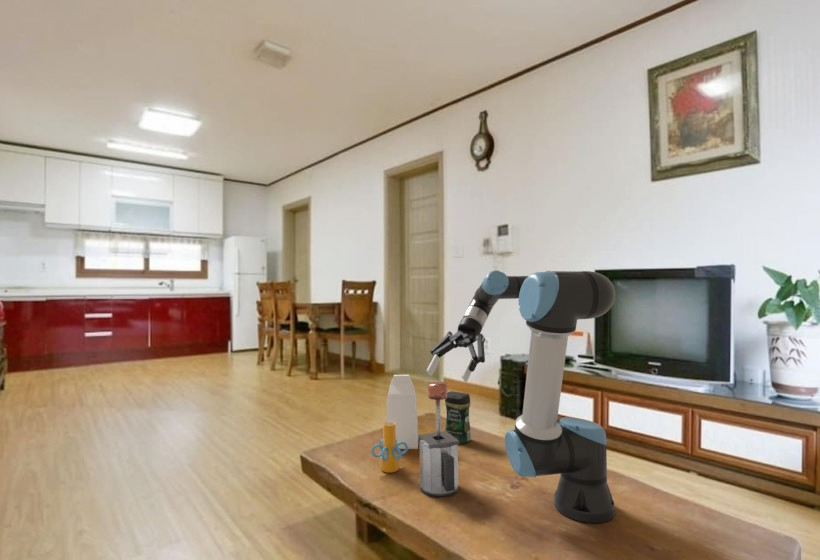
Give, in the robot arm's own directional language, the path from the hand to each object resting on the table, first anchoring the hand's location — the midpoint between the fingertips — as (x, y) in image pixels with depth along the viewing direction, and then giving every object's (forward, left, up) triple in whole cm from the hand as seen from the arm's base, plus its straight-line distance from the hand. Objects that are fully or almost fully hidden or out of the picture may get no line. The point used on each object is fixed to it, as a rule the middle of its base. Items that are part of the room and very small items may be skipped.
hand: (445, 376), depth 134 cm
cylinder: (+14, +14, -32) cm, 38 cm away
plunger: (-4, +4, -23) cm, 24 cm away
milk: (+35, +3, -32) cm, 48 cm away
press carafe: (-5, +4, -32) cm, 33 cm away
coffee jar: (+30, -18, -32) cm, 48 cm away
